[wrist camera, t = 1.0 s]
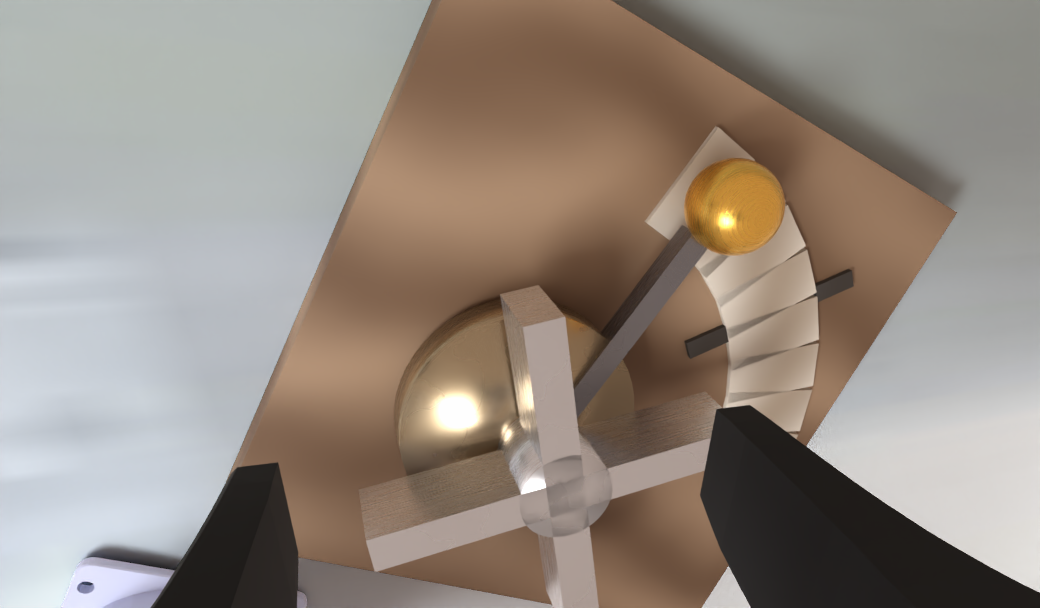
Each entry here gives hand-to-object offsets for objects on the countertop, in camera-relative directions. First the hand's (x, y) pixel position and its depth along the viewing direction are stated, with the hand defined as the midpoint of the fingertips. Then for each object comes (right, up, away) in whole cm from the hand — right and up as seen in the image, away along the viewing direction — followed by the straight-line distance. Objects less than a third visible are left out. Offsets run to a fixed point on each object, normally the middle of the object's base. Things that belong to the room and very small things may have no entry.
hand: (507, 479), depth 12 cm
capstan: (+2, 0, +13) cm, 14 cm away
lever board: (+3, +1, +15) cm, 16 cm away
